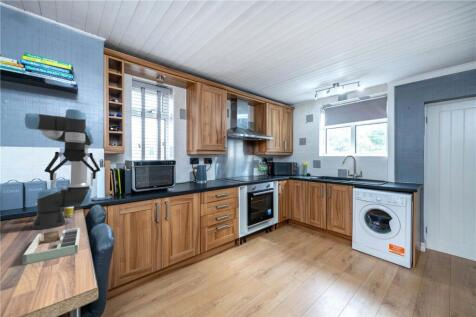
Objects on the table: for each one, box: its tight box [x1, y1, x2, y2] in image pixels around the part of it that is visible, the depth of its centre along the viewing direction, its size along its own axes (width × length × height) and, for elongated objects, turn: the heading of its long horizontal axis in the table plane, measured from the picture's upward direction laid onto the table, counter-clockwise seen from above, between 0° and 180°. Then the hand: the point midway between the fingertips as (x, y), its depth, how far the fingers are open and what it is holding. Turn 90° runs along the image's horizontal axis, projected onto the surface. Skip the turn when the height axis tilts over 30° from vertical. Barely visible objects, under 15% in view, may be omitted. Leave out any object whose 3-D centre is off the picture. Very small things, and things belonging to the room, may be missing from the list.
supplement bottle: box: [63, 207, 75, 218], centre depth 145 cm, size 5×5×10 cm
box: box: [22, 227, 81, 266], centre depth 93 cm, size 30×16×4 cm, turn 37°
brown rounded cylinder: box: [43, 230, 60, 244], centre depth 100 cm, size 6×6×4 cm
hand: (73, 186), depth 94 cm, fingers open, 13 cm apart
